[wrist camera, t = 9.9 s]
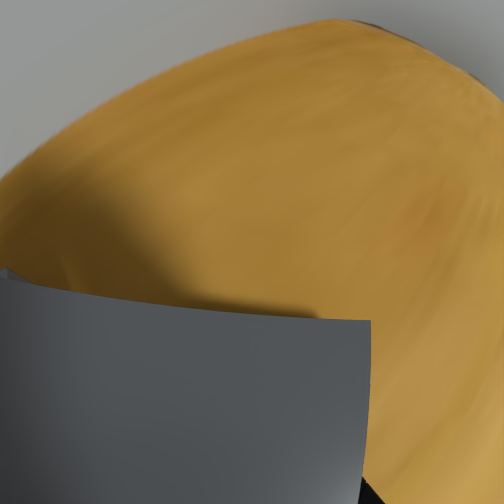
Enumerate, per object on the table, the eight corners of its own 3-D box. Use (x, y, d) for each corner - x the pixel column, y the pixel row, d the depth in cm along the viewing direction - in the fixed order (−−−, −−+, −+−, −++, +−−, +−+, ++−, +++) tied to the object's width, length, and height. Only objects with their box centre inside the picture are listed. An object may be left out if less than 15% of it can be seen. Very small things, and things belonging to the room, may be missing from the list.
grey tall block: (259, 471, 13) (314, 648, 1) (146, 456, 13) (-16, 562, 1) (267, 365, 15) (370, 321, 3) (155, 353, 15) (-28, 270, 3)
